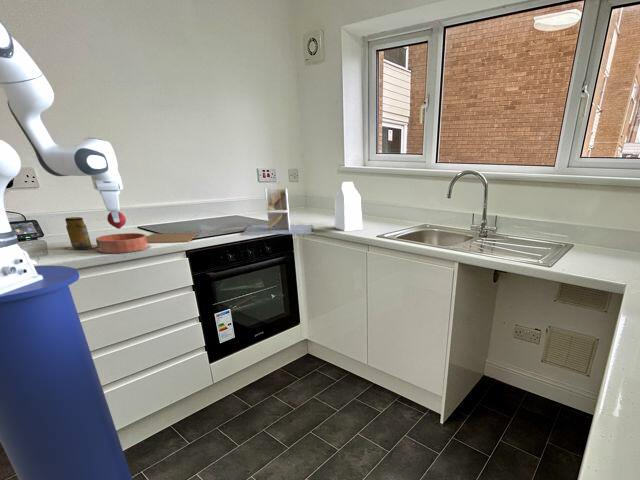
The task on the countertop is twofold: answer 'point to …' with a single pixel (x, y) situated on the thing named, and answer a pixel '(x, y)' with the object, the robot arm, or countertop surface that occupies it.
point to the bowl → (122, 242)
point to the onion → (117, 224)
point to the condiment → (78, 233)
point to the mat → (170, 237)
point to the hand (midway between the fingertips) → (117, 221)
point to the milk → (348, 208)
